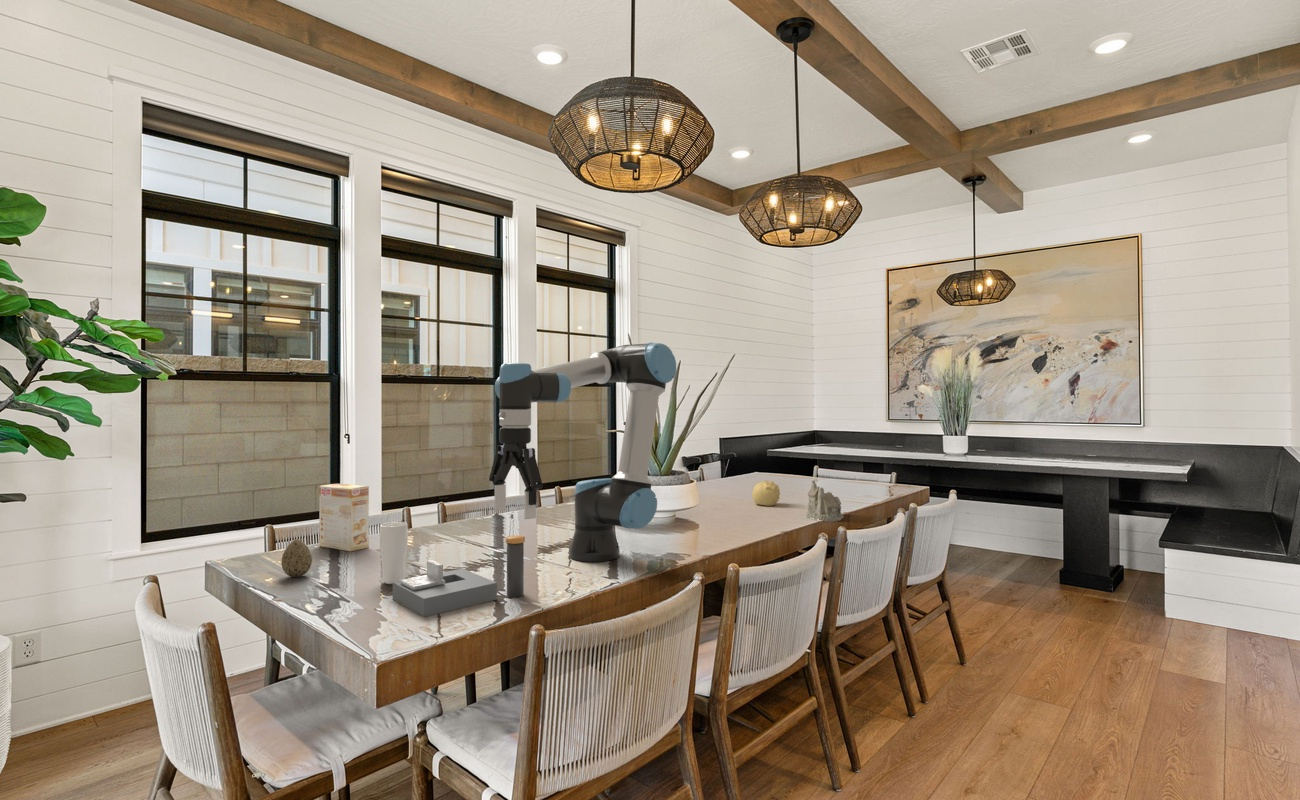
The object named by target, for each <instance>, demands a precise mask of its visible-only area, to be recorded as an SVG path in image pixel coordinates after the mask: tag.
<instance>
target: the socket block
mask: <svg viewBox="0 0 1300 800" xmlns="http://www.w3.org/2000/svg"><path fill="white" fill-rule="evenodd" d="M443 580H445V584H442V585H437V586H432V587H428V588H423V589H418V590H412V589H410V588H408V587H407V586H405V585H403V584H401V583H400V581H397V582H393V584H392V600H393V601H395V602H397V603H398V604H400V605H401V606H404V607H406V608H408V609H410V610H411V611H413V612H414V613H416V614H418V615H420V616H421V617H423V618H424V617H430V616H435V615H438V614H442V613H446V612H451V611H455V610H459V609H462V608H467V607H470V606H476V605H479V604H482V603H483V604H484V603H488V602H491V601H495V600H498V582H497V581H494V580H492V579H489V578H487V577H484V576H482V575H479V574H477V573H474V572H472V571H470V570H467V569H465V568H458V569H453V570H447V571H443Z"/></svg>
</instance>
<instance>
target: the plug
mask: <svg viewBox="0 0 1300 800" xmlns="http://www.w3.org/2000/svg"><path fill="white" fill-rule="evenodd" d="M525 542H526V537H525V536H524V535H520V534H519V535H510V536H506V537H505V543H506V597H507V598H510V599H511V598H513V599H515V598H520V597H523V596H524V594H525V593H524V591H525V590H524V585H525V583H524V581H525V580H524V576H525V575H524V572H525V571H524V567H525V566H524V565H525V564H524V561H525V560H524V558H525V557H524V556H525V555H524V551H525V550H524V548H525V547H524V543H525Z"/></svg>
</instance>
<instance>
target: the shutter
mask: <svg viewBox="0 0 1300 800" xmlns="http://www.w3.org/2000/svg"><path fill="white" fill-rule="evenodd" d="M443 572H444V564H443V563H440V562H438V561H435V560H433V559H429V560H426V574H423V575H420V576H419V575H418V576H415V577H414V576H413V577H409V578H405V579H403V580H400V583H401V584H403V585H405V586H407V587H408V588H410V589H412V590H418V589H423V588H428V587H432V586H437V585H442V584H445V580H443Z"/></svg>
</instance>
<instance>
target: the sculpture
mask: <svg viewBox="0 0 1300 800" xmlns="http://www.w3.org/2000/svg"><path fill="white" fill-rule="evenodd" d="M751 494H752V495H751V496H752V500H753V502H754V503H755V504H756V505H761V506H766V507H773V506H775V505H777V504H778V502H779V500H780V496H781V491H780V487H779V485H778V484H776V483H775V482H774V481H772V480H771V481H770V480H765V481H760V482H758V483H756V484H755V485H754V487H753V489H752V493H751Z"/></svg>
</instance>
